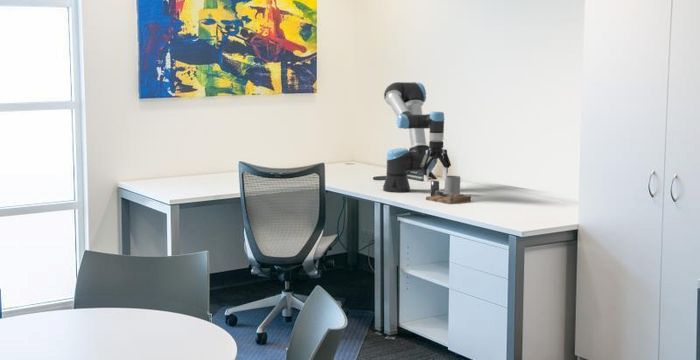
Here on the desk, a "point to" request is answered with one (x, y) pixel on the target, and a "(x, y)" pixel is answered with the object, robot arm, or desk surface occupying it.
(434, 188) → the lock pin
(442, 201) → the dock
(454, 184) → the cup
